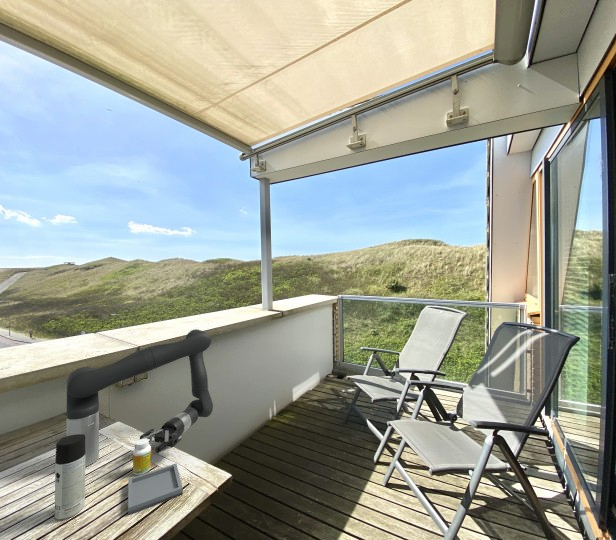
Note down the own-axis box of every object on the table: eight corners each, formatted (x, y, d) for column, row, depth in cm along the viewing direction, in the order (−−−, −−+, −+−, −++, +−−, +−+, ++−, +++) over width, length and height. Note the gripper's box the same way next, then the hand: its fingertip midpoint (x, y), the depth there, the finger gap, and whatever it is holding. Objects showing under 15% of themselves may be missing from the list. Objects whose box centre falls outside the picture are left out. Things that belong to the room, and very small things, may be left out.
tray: (128, 515, 80) (128, 508, 80) (128, 485, 92) (128, 478, 92) (182, 494, 87) (182, 487, 87) (176, 469, 99) (176, 463, 99)
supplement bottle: (143, 476, 96) (142, 446, 96) (129, 474, 97) (129, 445, 97) (154, 466, 101) (154, 437, 101) (141, 464, 102) (141, 436, 102)
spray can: (66, 502, 85) (66, 433, 86) (90, 500, 86) (91, 432, 86) (47, 521, 78) (48, 446, 79) (74, 519, 79) (74, 445, 79)
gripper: (161, 415, 118) (128, 436, 103) (192, 418, 115) (163, 440, 99) (161, 433, 118) (128, 457, 102) (192, 437, 115) (163, 462, 99)
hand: (145, 449), depth 101 cm, fingers open, 8 cm apart
